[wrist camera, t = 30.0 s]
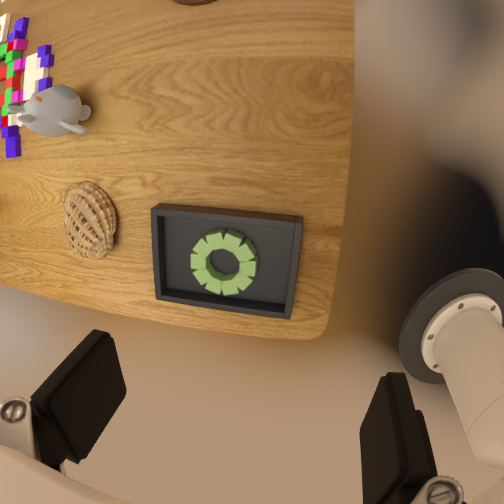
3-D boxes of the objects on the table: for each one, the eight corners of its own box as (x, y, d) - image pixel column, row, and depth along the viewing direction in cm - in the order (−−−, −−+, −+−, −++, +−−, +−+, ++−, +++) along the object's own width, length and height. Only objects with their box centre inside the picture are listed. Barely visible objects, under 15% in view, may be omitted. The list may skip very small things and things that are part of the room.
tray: (303, 216, 35) (303, 223, 33) (291, 308, 39) (290, 319, 37) (159, 203, 37) (150, 208, 35) (163, 290, 41) (155, 299, 39)
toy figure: (119, 108, 33) (52, 108, 22) (96, 151, 36) (29, 166, 25) (67, 72, 32) (1, 68, 21) (48, 113, 34) (-18, 119, 23)
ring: (260, 231, 36) (257, 236, 34) (255, 292, 39) (253, 299, 37) (195, 224, 37) (190, 229, 35) (195, 283, 40) (191, 290, 38)
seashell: (81, 219, 43) (112, 267, 40) (47, 220, 37) (74, 273, 34) (101, 175, 40) (135, 222, 37) (64, 171, 34) (94, 223, 31)
